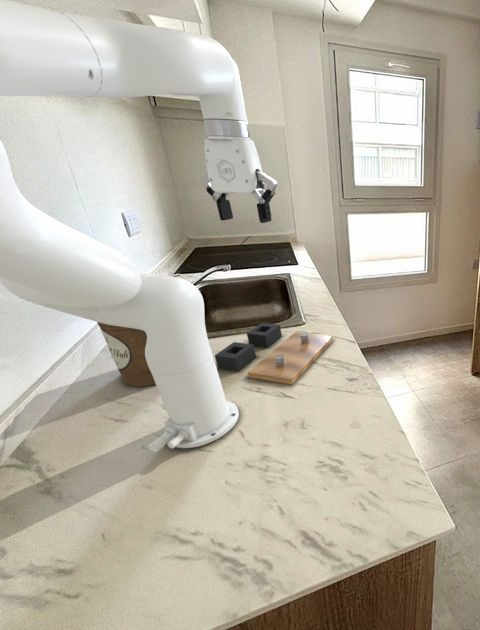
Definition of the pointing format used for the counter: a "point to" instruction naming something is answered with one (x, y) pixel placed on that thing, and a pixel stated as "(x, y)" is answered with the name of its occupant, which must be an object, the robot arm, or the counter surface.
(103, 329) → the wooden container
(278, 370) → the wooden board
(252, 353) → the black hollow rectangular block
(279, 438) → the counter surface
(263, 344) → the dark grey hollow block
